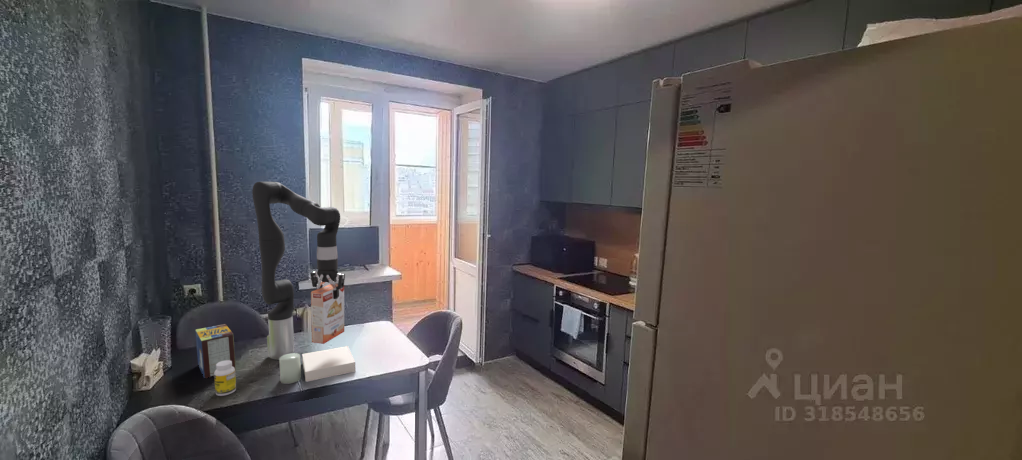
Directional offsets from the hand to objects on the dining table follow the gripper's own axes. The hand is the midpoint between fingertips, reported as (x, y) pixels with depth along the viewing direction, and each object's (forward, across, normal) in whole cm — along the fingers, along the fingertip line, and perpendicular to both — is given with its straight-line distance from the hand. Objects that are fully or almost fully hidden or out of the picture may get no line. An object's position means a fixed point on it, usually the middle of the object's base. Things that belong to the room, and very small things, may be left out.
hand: (328, 297), depth 165 cm
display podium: (+29, 0, -1) cm, 29 cm away
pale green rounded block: (+29, -8, -13) cm, 33 cm away
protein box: (+30, -43, -10) cm, 54 cm away
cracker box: (+17, 0, 0) cm, 17 cm away
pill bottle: (+30, -24, -26) cm, 46 cm away
